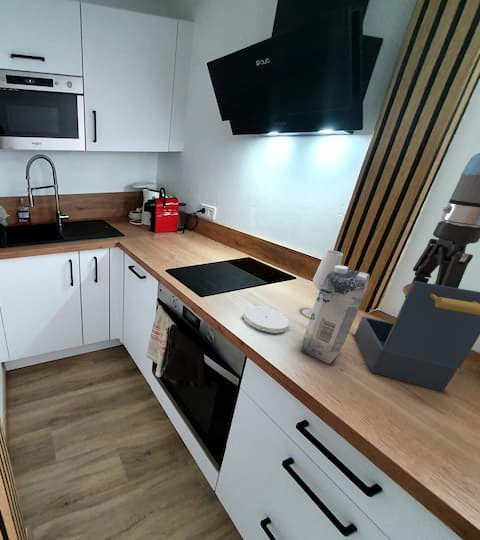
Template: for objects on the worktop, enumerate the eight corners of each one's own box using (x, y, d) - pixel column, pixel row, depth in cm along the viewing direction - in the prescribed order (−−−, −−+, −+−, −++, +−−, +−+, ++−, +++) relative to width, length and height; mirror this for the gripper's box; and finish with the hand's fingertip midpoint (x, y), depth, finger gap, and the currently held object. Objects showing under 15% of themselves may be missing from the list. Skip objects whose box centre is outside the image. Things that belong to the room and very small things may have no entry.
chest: (354, 335, 93) (362, 316, 90) (412, 348, 87) (422, 329, 84) (371, 372, 77) (381, 350, 75) (442, 391, 72) (457, 369, 69)
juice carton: (341, 351, 85) (376, 268, 74) (332, 368, 78) (369, 280, 68) (307, 337, 91) (335, 259, 80) (297, 352, 84) (325, 268, 73)
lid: (413, 280, 68) (426, 290, 62) (500, 295, 62) (522, 307, 57) (382, 348, 75) (390, 362, 69) (457, 366, 69) (473, 383, 64)
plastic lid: (234, 314, 102) (235, 308, 101) (266, 310, 106) (268, 304, 105) (261, 338, 90) (263, 331, 89) (297, 332, 94) (299, 325, 93)
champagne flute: (326, 320, 101) (350, 257, 91) (305, 317, 102) (327, 254, 92) (319, 310, 107) (341, 250, 97) (299, 308, 108) (319, 248, 98)
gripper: (421, 213, 77) (387, 287, 86) (466, 231, 60) (417, 322, 69) (458, 216, 74) (419, 292, 83) (517, 237, 57) (459, 331, 66)
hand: (418, 306), depth 76 cm, fingers closed on cupcake, 9 cm apart
